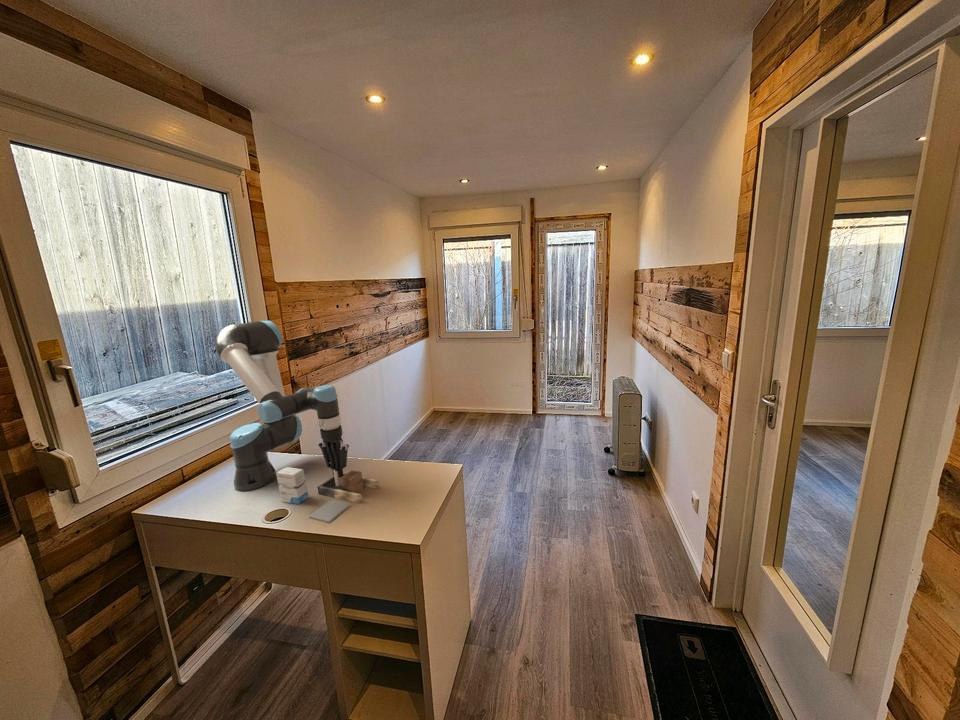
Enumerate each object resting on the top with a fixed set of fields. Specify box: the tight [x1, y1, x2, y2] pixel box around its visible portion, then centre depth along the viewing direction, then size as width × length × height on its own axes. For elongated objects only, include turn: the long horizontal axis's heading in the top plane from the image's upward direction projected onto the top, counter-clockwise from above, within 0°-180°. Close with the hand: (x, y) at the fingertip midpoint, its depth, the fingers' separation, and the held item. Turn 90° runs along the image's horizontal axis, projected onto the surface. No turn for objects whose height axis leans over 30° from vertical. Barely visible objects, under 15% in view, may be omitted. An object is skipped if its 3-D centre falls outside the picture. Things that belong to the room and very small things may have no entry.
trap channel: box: [317, 473, 380, 504], centre depth 143 cm, size 20×11×3 cm, turn 67°
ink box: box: [276, 466, 309, 505], centre depth 139 cm, size 8×5×12 cm, turn 71°
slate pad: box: [308, 499, 351, 524], centre depth 131 cm, size 9×10×1 cm
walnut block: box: [340, 469, 365, 494], centre depth 142 cm, size 5×6×7 cm
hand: (339, 484), depth 145 cm, fingers closed
